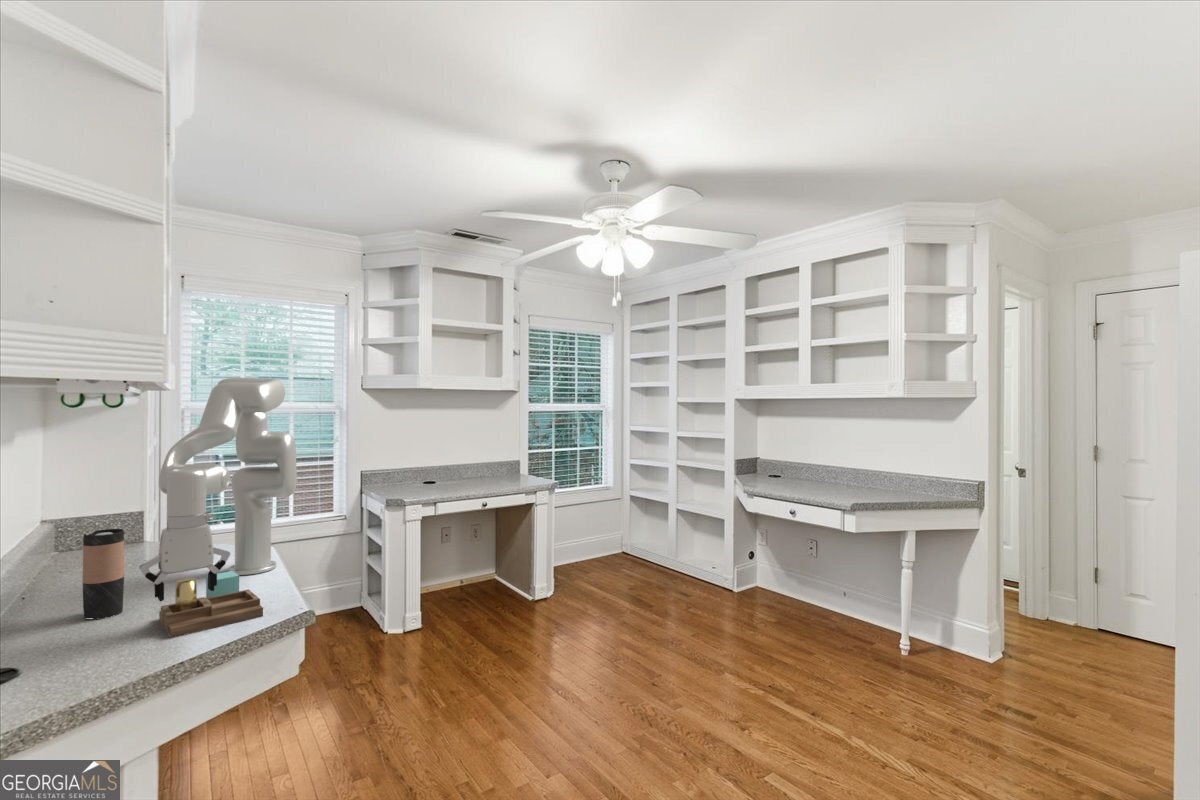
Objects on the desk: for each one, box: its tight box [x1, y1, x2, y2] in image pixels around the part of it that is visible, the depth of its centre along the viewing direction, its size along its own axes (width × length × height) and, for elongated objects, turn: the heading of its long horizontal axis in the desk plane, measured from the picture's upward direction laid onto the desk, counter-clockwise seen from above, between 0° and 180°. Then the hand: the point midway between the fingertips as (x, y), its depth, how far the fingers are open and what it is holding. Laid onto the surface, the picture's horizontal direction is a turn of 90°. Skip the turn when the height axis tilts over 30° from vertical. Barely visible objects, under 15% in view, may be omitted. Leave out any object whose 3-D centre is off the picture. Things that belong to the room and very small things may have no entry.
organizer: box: [158, 589, 264, 638], centre depth 136 cm, size 15×18×4 cm
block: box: [205, 570, 240, 598], centre depth 150 cm, size 6×6×6 cm
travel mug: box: [82, 528, 125, 620], centre depth 138 cm, size 8×8×20 cm
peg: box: [174, 577, 198, 612], centre depth 133 cm, size 4×4×8 cm
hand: (186, 594), depth 133 cm, fingers open, 9 cm apart
